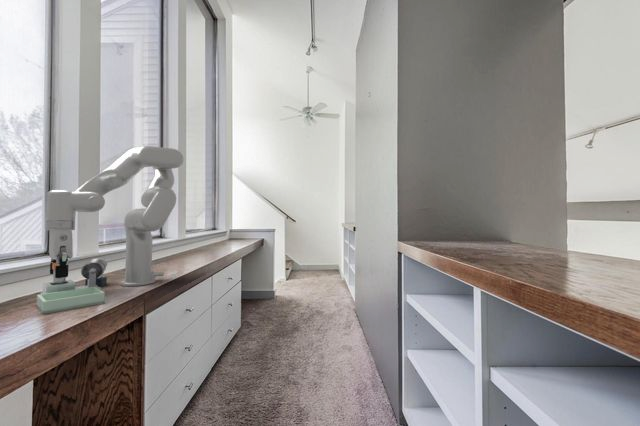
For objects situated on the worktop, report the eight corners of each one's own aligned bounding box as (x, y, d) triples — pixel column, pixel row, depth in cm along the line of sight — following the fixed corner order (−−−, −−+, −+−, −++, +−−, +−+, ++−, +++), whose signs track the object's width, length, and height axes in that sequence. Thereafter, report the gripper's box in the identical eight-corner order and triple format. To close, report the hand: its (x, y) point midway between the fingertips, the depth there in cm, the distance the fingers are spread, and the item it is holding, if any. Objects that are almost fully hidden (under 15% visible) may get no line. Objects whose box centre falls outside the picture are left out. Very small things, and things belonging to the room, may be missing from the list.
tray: (94, 296, 101) (95, 286, 101) (104, 303, 94) (104, 292, 94) (36, 306, 90) (37, 294, 90) (42, 314, 82) (43, 302, 82)
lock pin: (65, 289, 102) (65, 261, 102) (67, 291, 100) (68, 262, 100) (50, 291, 99) (51, 262, 99) (52, 293, 97) (53, 263, 97)
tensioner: (97, 289, 112) (98, 260, 112) (104, 293, 106) (105, 263, 106) (40, 297, 99) (41, 265, 99) (45, 302, 93) (46, 268, 94)
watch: (108, 283, 121) (109, 257, 122) (98, 288, 113) (99, 259, 114) (93, 284, 120) (94, 257, 120) (82, 288, 112) (83, 260, 112)
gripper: (80, 226, 97) (78, 277, 97) (69, 225, 108) (67, 271, 108) (50, 226, 92) (48, 280, 91) (41, 225, 103) (39, 273, 102)
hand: (58, 275), depth 99 cm, fingers open, 9 cm apart
